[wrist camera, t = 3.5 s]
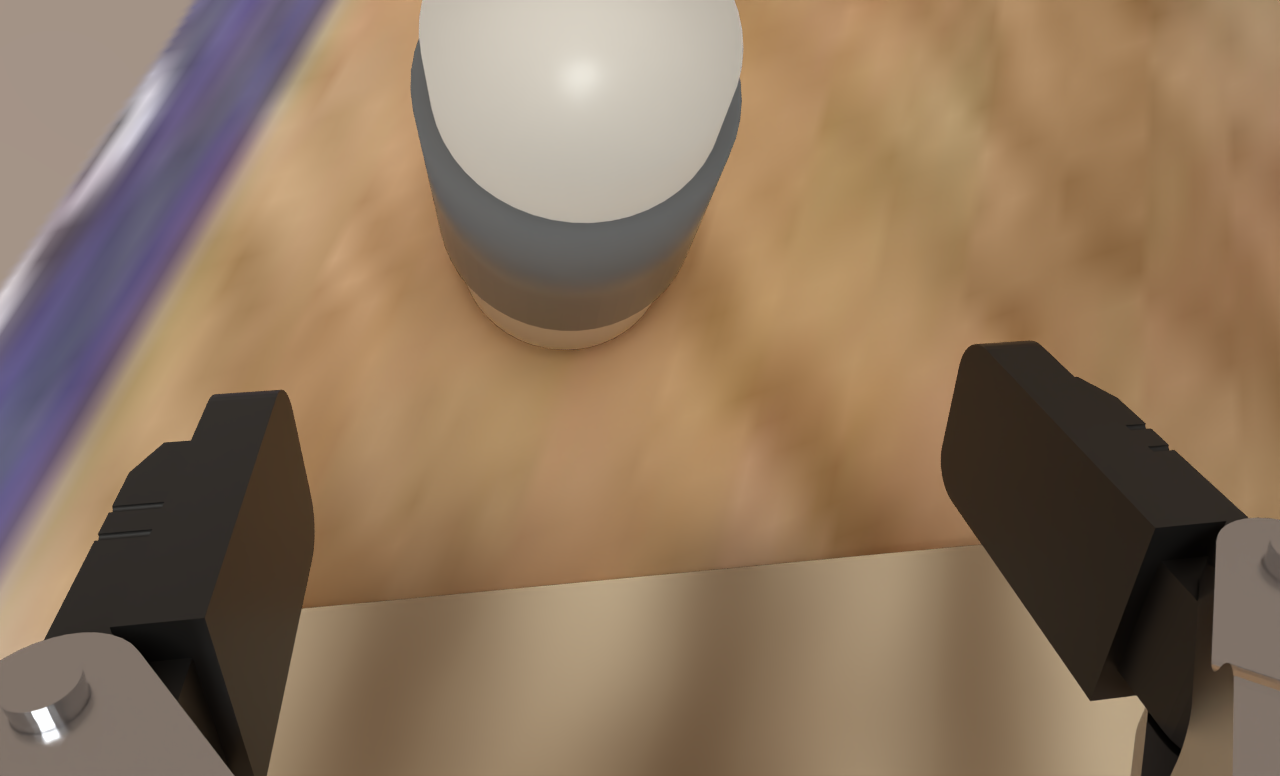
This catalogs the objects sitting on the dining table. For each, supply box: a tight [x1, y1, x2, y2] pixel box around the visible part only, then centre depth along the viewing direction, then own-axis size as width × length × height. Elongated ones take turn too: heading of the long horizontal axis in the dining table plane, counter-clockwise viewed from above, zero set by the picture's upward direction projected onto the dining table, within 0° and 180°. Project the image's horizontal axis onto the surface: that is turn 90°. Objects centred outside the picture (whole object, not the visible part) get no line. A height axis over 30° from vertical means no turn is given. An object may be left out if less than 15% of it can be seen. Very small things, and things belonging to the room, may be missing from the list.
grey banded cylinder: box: [411, 0, 743, 350], centre depth 19 cm, size 6×6×9 cm
